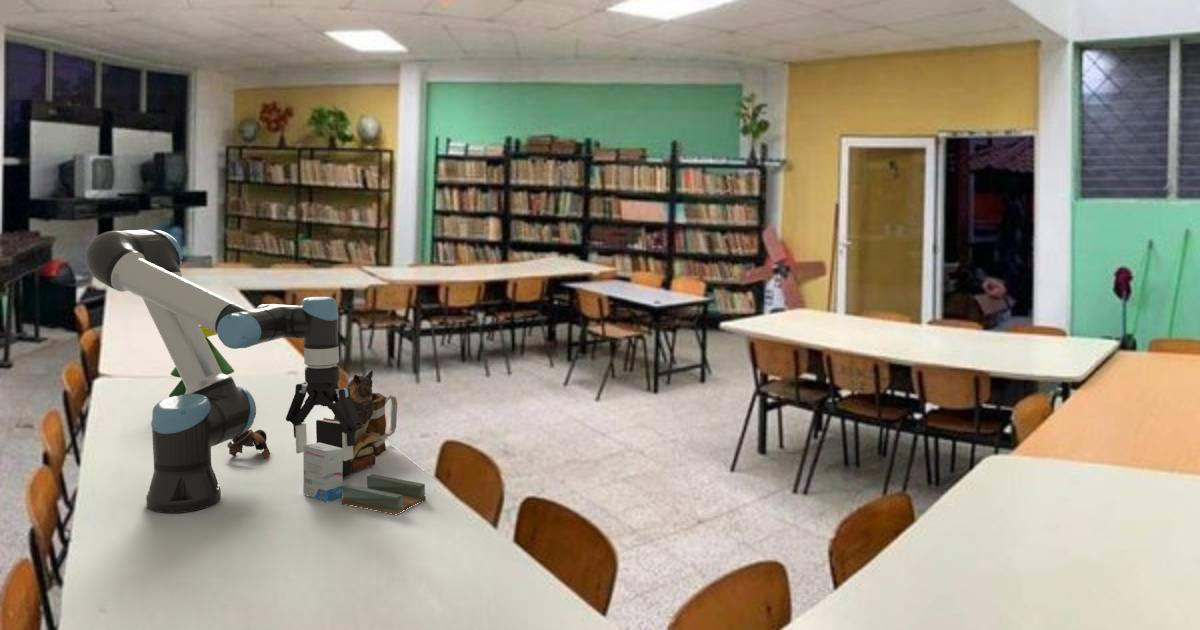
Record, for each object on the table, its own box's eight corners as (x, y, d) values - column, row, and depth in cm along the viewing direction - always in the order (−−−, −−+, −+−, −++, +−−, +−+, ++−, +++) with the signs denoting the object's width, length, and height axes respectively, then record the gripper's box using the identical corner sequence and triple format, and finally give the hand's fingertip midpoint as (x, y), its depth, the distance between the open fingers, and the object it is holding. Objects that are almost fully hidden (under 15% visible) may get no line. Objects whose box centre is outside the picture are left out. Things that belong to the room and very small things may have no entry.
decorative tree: (213, 423, 267) (210, 323, 263) (155, 418, 270) (151, 320, 266) (249, 408, 286) (247, 315, 282) (195, 404, 289) (192, 312, 285)
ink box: (344, 496, 207) (344, 447, 206) (327, 502, 203) (326, 452, 202) (319, 489, 212) (319, 440, 210) (302, 494, 208) (301, 445, 206)
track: (396, 515, 196) (396, 497, 196) (341, 504, 202) (341, 487, 202) (425, 500, 206) (425, 483, 206) (372, 489, 212) (372, 473, 212)
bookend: (343, 481, 218) (341, 381, 214) (312, 473, 223) (311, 375, 220) (387, 467, 230) (386, 372, 227) (357, 459, 236) (356, 366, 232)
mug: (357, 462, 234) (357, 406, 232) (324, 452, 241) (323, 398, 239) (413, 445, 250) (413, 393, 248) (379, 437, 257) (379, 386, 255)
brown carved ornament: (264, 464, 231) (246, 439, 228) (235, 477, 233) (217, 452, 230) (282, 441, 242) (265, 416, 239) (254, 453, 244) (237, 429, 241)
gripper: (376, 367, 202) (378, 458, 205) (291, 357, 212) (294, 444, 215) (355, 372, 195) (357, 467, 198) (267, 363, 205) (271, 452, 208)
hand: (324, 455), depth 206 cm, fingers open, 13 cm apart
